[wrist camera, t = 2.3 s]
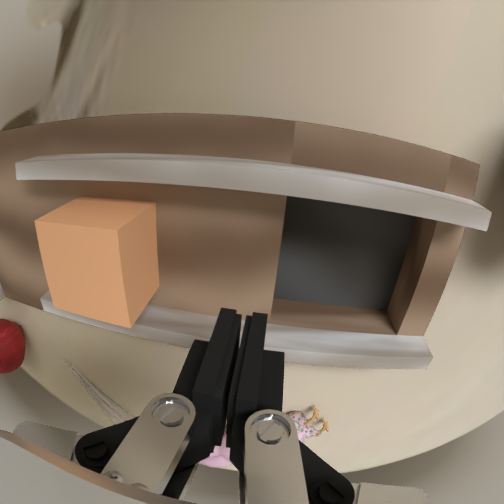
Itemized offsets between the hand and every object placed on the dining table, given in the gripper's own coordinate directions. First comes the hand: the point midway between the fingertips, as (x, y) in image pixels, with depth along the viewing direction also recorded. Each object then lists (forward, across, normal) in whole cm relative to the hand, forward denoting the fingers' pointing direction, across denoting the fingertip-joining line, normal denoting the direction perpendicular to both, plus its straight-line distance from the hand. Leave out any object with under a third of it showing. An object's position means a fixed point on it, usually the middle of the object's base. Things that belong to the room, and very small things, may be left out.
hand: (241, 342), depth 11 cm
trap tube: (+8, +6, -1) cm, 10 cm away
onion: (+9, +26, +13) cm, 31 cm away
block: (+6, +8, -1) cm, 10 cm away
